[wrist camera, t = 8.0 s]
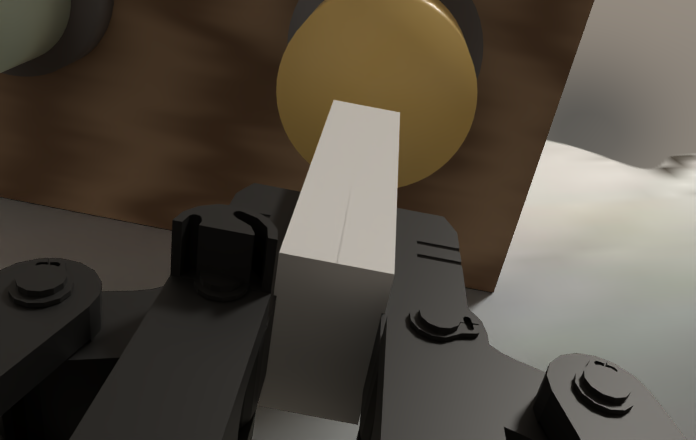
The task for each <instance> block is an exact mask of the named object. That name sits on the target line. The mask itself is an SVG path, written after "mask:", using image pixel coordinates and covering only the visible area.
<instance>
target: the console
mask: <svg viewBox="0 0 696 440" xmlns="http://www.w3.org/2000/svg"><path fill="white" fill-rule="evenodd" d="M323 1H324V0H71V9H70V16H69V20H68V23H67V27H66V29H65V31H64V33H63V35H62V36H61V38H60V39H59V41H58V42H57V43H56V44H55V45H54V46H53V47H52V48H51V49H50V50H49V51H47V52H46V53H44V54H42V55H40V56H39V57H36V58H34V59H32V60H29V61H27V62H25V63H23V64H20V65H18V66H16V67H13V68H11V69H9V70H6V71H4V72H2V73H0V197H4V198H9V199H14V200H19V201H24V202H29V203H34V204H40V205H45V206H50V207H55V208H60V209H65V210H71V211H76V212H81V213H86V214H91V215H96V216H101V217H107V218H112V219H117V220H122V221H127V222H132V223H137V224H143V225H148V226H153V227H158V228H163V229H168V230H172V220H173V219H174V218H175V217H177V216H178V215H179V214H180V213H182V212H183V211H186V210H188V209H191V208H194V207H197V206H203V205H213V204H224V205H230V203H231V201H232V199H233V198H234V196H235V194H236V193H237V192H239V191H241V190H242V189H244V188H246V187H248V186H250V185H251V184H253V183H257V184H263V185H268V186H273V187H279V188H284V189H289V190H295V191H300V192H301V190H302V187H303V184H304V182H305V179H306V176H307V173H308V170H309V168H310V164H309V163H308V162H307V161H306V160H305V159H304V158H303V157H302V156H301V155H300V154H299V152H298V151H297V150H296V149H295V147H294V146H293V144H292V143H291V141H290V140H289V138H288V136H287V134H286V132H285V130H284V127H283V124H282V122H281V119H280V115H279V111H278V106H277V96H276V86H277V76H278V70H279V66H280V63H281V60H282V57H283V54H284V52H285V50H286V48H287V46H288V44H289V42H290V40H291V39H292V37H293V36H294V34H295V33H296V31H297V30H298V29H299V28H300V27H301V26H302V24H303V23H304V22H305V21H306V20H307V19H308V17H309V16H310V15H311V14H312V13H313V12H314V10H315V9H316V8H317V7H318V6H319V5H320V4H321V3H322V2H323ZM439 1H441V2H442V3H443V4H444V6H445V7H446V8H447V9H448V10H449V11H450V12H451V14H452V15H453V17H454V18H455V19H456V21H457V23H458V25H459V27H460V29H461V31H462V33H463V36H464V39H465V42H466V45H467V48H468V50H469V53H470V56H471V59H472V62H473V65H474V69H475V73H476V78H477V105H476V110H475V115H474V119H473V122H472V125H471V128H470V130H469V132H468V134H467V136H466V138H465V140H464V142H463V143H462V145H461V146H460V148H459V149H458V151H457V152H456V153H455V154H454V155H453V156H452V158H451V159H450V160H449V161H448V162H447V163H446V164H444V165H443V166H442V167H441V168H440V169H438V170H437V171H435V172H434V173H432V174H431V175H430V176H428V177H426V178H424V179H422V180H420V181H418V182H415V183H412V184H410V185H407V186H403V187H398V188H397V208H401V209H406V210H411V211H417V212H422V213H427V214H432V215H438V216H443V217H445V219H446V220H447V221H448V222H449V223H450V225H451V226H452V227H453V228H454V229H455V231H456V232H457V235H458V242H459V252H460V256H461V265H462V269H463V276H464V283H465V287H467V288H472V289H477V290H482V291H488V292H494V289H495V287H496V284H497V281H498V278H499V275H500V272H501V269H502V266H503V263H504V260H505V258H506V255H507V252H508V249H509V246H510V243H511V240H512V237H513V234H514V231H515V229H516V226H517V223H518V220H519V217H520V214H521V211H522V208H523V205H524V202H525V200H526V197H527V194H528V191H529V188H530V185H531V182H532V179H533V176H534V173H535V171H536V168H537V165H538V162H539V159H540V156H541V153H542V150H543V147H544V145H545V142H546V139H547V136H548V133H549V130H550V127H551V124H552V121H553V118H554V116H555V113H556V110H557V107H558V104H559V101H560V98H561V95H562V92H563V89H564V86H565V84H566V81H567V78H568V75H569V72H570V69H571V66H572V63H573V60H574V57H575V55H576V52H577V49H578V46H579V43H580V40H581V37H582V34H583V31H584V29H585V26H586V22H587V20H588V17H589V14H590V11H591V8H592V5H593V2H594V0H439Z"/></svg>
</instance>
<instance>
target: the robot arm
mask: <svg viewBox="0 0 696 440" xmlns="http://www.w3.org/2000/svg"><path fill="white" fill-rule="evenodd" d="M399 128H400V112H395V111H390V110H385V109H379V108H374V107H369V106H363V105H358V104H353V103H348V102H342V101H337V100H333V103H332V106H331V109H330V112H329V114H328V117H327V120H326V123H325V126H324V128H323V131H322V134H321V137H320V140H319V142H318V145H317V148H316V151H315V154H314V156H313V159H312V162H311V165H310V168H309V170H308V173H307V176H306V179H305V182H304V184H303V187H302V190H301V192H300V191H295V190H289V189H284V188H279V187H273V186H268V185H263V184H257V183H253V184H251V185H250V186H248V187H246V188H244V189H242V190H241V191H239V192H237V193H236V194H235V196H234V198H233V199H232V201H231V203H230V205H224V204H213V205H203V206H197V207H194V208H191V209H188V210H186V211H183V212H182V213H180V214H179V215H178V216H177V217H175V218H174V219H173V220H172V248H171V275H170V277H169V278H168V280H167V282H166V283H165V285H164V286H163V287H159V288H155V289H150V290H139V291H104V292H102V283H101V280H100V278H99V277H98V275H97V274H96V272H95V270H93V269H91V268H89V267H87V266H86V265H84V264H82V263H80V262H76V261H71V260H66V259H62V258H43V259H34V260H29V261H24V262H19V263H16V264H13V265H11V266H9V267H6V268H4V269H2V270H0V440H251V439H252V435H253V427H254V419H255V412H256V407H257V404H258V400H259V397H260V401H259V406H261V407H266V408H272V409H277V410H282V411H288V412H293V413H298V414H304V415H309V416H314V417H320V418H325V419H330V420H336V421H341V422H346V423H352V424H357V425H358V421H359V417H360V413H361V417H360V427H359V431H358V435H357V440H687V439H686V437H685V436H684V435H683V433H682V432H681V431H680V430H679V428H678V427H677V426H676V424H675V423H674V422H673V420H672V419H671V418H670V417H669V415H668V414H667V413H666V411H665V410H664V409H663V407H662V406H661V405H660V404H659V402H658V401H657V400H656V398H655V397H654V396H653V394H652V393H651V392H650V391H649V390H648V389H647V388H646V387H645V386H644V385H643V384H642V383H641V382H640V381H639V380H638V379H637V378H636V377H635V376H634V375H632V374H630V373H629V372H627V371H626V370H624V369H623V368H621V367H620V366H618V365H616V364H614V363H612V362H610V361H606V360H605V359H601V358H599V357H596V356H591V355H585V354H579V353H574V354H566V355H560V356H559V357H557V358H556V359H555V360H553V361H552V362H550V364H549V366H548V369H547V371H546V372H544V371H541V370H539V369H536V368H534V367H531V366H529V365H527V364H524V363H522V362H519V361H517V360H515V359H513V358H511V357H509V356H507V355H505V354H503V353H501V352H499V351H498V350H496V349H495V348H494V347H492V346H491V345H489V341H488V335H487V332H486V330H485V328H484V326H483V323H482V321H481V320H480V319H479V318H478V317H477V316H476V315H475V314H474V313H472V312H471V311H470V310H469V309H468V304H467V297H466V290H465V283H464V276H463V269H462V265H461V256H460V252H459V242H458V235H457V232H456V231H455V229H454V228H453V227H452V226H451V225H450V223H449V222H448V221H447V220H446V219H445V217H443V216H438V215H432V214H427V213H422V212H417V211H411V210H406V209H401V208H397V186H398V157H399Z"/></svg>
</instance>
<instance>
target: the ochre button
mask: <svg viewBox="0 0 696 440" xmlns="http://www.w3.org/2000/svg"><path fill="white" fill-rule="evenodd" d="M276 96H277V106H278V111H279V115H280V119H281V122H282V124H283V127H284V130H285V132H286V134H287V136H288V138H289V140H290V141H291V143H292V144H293V146H294V147H295V149H296V150H297V151H298V152H299V154H300V155H301V156H302V157H303V158H304V159H305V160H306V161H307V162H308V163H309V164H310V165H311V162H312V159H313V156H314V154H315V151H316V148H317V145H318V142H319V140H320V137H321V134H322V131H323V128H324V126H325V123H326V120H327V117H328V114H329V112H330V109H331V106H332V103H333V100H337V101H342V102H348V103H353V104H358V105H363V106H369V107H374V108H379V109H385V110H390V111H395V112H400V128H399V157H398V186H397V188H398V187H403V186H407V185H410V184H412V183H415V182H418V181H420V180H422V179H424V178H426V177H428V176H430V175H431V174H432V173H434V172H435V171H437V170H438V169H440V168H441V167H442V166H443V165H444V164H446V163H447V162H448V161H449V160H450V159H451V158H452V156H453V155H454V154H455V153H456V152H457V151H458V149H459V148H460V146H461V145H462V143H463V142H464V140H465V138H466V136H467V134H468V132H469V130H470V128H471V125H472V122H473V119H474V115H475V110H476V105H477V78H476V73H475V69H474V65H473V62H472V59H471V56H470V53H469V50H468V48H467V45H466V42H465V39H464V36H463V33H462V31H461V29H460V27H459V25H458V23H457V21H456V19H455V18H454V17H453V15H452V14H451V12H450V11H449V10H448V9H447V8H446V7H445V6H444V4H443V3H442V2H441V1H439V0H324V1H323V2H322V3H321V4H320V5H319V6H318V7H317V8H316V9H315V10H314V12H313V13H312V14H311V15H310V16H309V17H308V19H307V20H306V21H305V22H304V23H303V24H302V26H301V27H300V28H299V29H298V30H297V31H296V33H295V34H294V36H293V37H292V39H291V40H290V42H289V44H288V46H287V48H286V50H285V52H284V54H283V57H282V60H281V63H280V66H279V70H278V76H277V86H276Z"/></svg>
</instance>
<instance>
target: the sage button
mask: <svg viewBox="0 0 696 440" xmlns="http://www.w3.org/2000/svg"><path fill="white" fill-rule="evenodd" d="M70 9H71V0H0V73H2V72H4V71H6V70H9V69H11V68H13V67H16V66H18V65H20V64H23V63H25V62H27V61H29V60H32V59H34V58H36V57H39V56H40V55H42V54H44V53H46V52H47V51H49V50H50V49H51V48H52V47H53V46H54V45H55V44H56V43H57V42H58V41H59V39H60V38H61V36H62V35H63V33H64V31H65V29H66V27H67V23H68V20H69V16H70Z"/></svg>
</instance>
